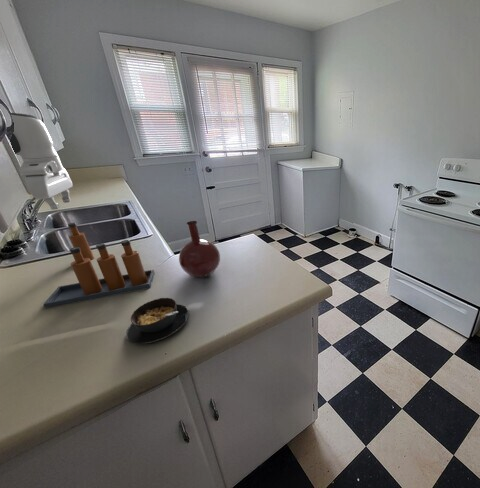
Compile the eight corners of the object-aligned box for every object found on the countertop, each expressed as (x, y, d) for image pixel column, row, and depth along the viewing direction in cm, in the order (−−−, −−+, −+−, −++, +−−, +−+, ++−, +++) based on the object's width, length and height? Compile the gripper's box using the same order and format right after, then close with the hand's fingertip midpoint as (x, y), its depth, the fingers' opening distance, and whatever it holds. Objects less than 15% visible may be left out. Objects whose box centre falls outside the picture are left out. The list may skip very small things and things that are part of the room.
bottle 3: (130, 287, 89) (114, 245, 83) (133, 280, 93) (118, 239, 87) (146, 284, 91) (132, 242, 85) (148, 277, 95) (135, 237, 88)
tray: (46, 310, 80) (43, 304, 79) (61, 291, 89) (58, 286, 88) (150, 289, 89) (149, 283, 89) (155, 274, 98) (153, 269, 97)
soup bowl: (180, 302, 83) (174, 281, 80) (199, 328, 72) (193, 306, 69) (122, 325, 74) (113, 303, 71) (134, 359, 63) (124, 335, 60)
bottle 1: (82, 296, 85) (61, 252, 79) (87, 289, 89) (68, 246, 82) (99, 293, 87) (80, 250, 80) (104, 285, 90) (86, 244, 84)
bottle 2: (107, 291, 87) (88, 249, 81) (111, 284, 91) (93, 243, 85) (123, 288, 89) (107, 246, 82) (127, 281, 93) (111, 240, 86)
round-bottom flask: (223, 263, 105) (213, 214, 97) (222, 280, 94) (211, 226, 85) (186, 268, 102) (173, 218, 93) (181, 287, 90) (165, 232, 82)
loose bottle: (77, 263, 107) (61, 226, 100) (82, 258, 111) (66, 222, 104) (92, 260, 108) (76, 224, 102) (95, 256, 112) (81, 220, 106)
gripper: (47, 162, 99) (63, 199, 105) (14, 171, 82) (35, 214, 88) (69, 161, 101) (83, 197, 107) (41, 169, 84) (60, 212, 90)
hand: (61, 205), depth 97 cm, fingers open, 8 cm apart
